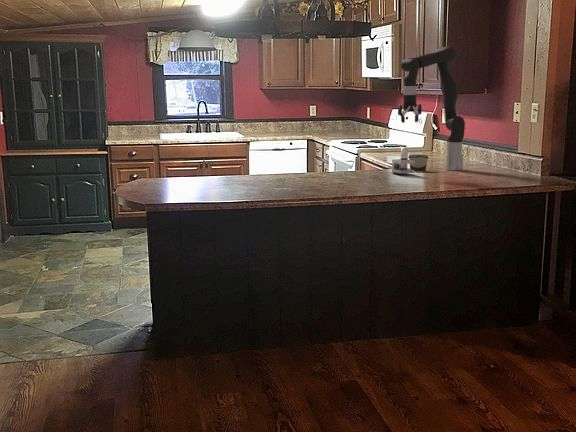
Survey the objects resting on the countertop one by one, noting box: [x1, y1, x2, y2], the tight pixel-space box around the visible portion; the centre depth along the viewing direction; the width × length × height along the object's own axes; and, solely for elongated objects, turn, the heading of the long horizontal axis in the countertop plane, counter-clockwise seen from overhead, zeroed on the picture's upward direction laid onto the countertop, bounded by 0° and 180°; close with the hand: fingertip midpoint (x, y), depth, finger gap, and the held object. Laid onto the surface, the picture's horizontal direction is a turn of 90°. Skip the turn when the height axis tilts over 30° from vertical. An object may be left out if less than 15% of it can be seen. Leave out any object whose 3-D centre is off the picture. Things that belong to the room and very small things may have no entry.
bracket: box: [390, 158, 415, 175], centre depth 384 cm, size 9×13×8 cm
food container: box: [408, 153, 430, 172], centre depth 400 cm, size 12×6×10 cm, turn 84°
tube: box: [399, 147, 409, 176], centre depth 381 cm, size 4×4×16 cm
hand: (409, 122), depth 379 cm, fingers open, 8 cm apart
